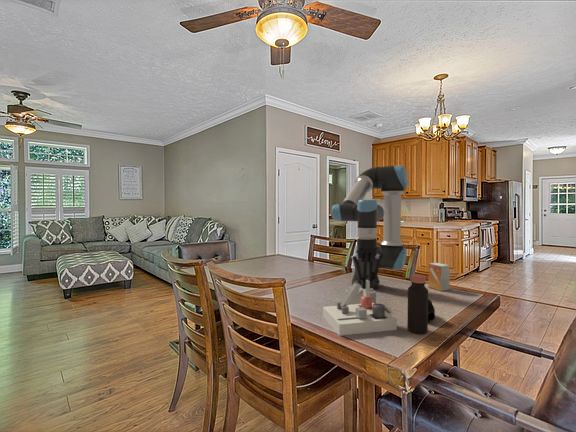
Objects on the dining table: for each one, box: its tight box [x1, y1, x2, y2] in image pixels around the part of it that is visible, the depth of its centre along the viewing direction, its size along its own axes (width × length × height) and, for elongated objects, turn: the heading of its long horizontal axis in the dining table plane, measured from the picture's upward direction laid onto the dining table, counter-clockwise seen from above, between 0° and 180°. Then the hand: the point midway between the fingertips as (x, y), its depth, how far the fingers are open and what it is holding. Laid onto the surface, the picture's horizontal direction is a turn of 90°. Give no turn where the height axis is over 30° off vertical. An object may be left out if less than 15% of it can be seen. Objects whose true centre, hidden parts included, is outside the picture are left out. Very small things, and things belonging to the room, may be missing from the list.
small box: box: [427, 262, 451, 292], centre depth 161 cm, size 8×6×13 cm
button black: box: [373, 303, 386, 319], centre depth 113 cm, size 4×4×6 cm
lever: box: [340, 280, 361, 308], centre depth 119 cm, size 2×3×13 cm
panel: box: [322, 301, 398, 336], centre depth 117 cm, size 22×18×6 cm
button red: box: [361, 296, 372, 309], centre depth 123 cm, size 4×4×6 cm
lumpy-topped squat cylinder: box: [344, 285, 377, 305], centre depth 136 cm, size 10×13×9 cm
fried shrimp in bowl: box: [428, 298, 436, 322], centre depth 124 cm, size 9×11×18 cm
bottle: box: [406, 273, 429, 335], centre depth 109 cm, size 7×7×20 cm
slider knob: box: [356, 307, 367, 319], centre depth 111 cm, size 3×3×3 cm
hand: (366, 296), depth 122 cm, fingers closed
